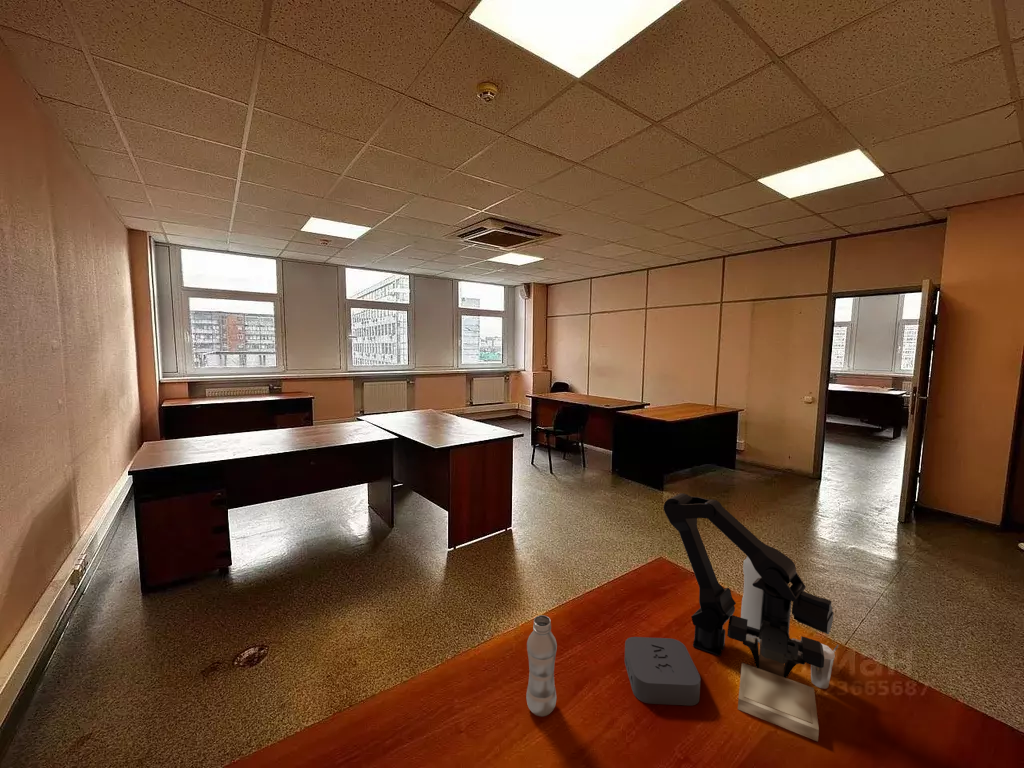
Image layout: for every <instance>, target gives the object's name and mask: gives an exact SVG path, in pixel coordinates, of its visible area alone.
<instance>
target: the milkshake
mask: <svg viewBox="0 0 1024 768" xmlns="http://www.w3.org/2000/svg"><path fill="white" fill-rule="evenodd" d="M820 643H821V642H820ZM821 644H822V646H823V652H824V667H823V668H819V667H816V666H813V665H810V680H811V684H813V686H815V687H817V688H820V689H825V690H826V689H828V688H829V685H830V681H831V675H832V670H833V666H834V661H835V657H836V655H835V652H836V651H837V650H838V648H839V644H838V643H837V644H836V646H835V647H834V648H833V650H832V648H830V647H829V645H826V644H824V643H821Z"/></svg>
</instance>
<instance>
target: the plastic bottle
mask: <svg viewBox="0 0 1024 768" xmlns="http://www.w3.org/2000/svg"><path fill="white" fill-rule="evenodd" d="M551 621H552V620H551V618H550V617H549V616H548V615H544V614H543V615H542V614H540V615H537V616H535V617H534V619H533V626H532V627H533V628H532V630H533V631H532V632H531V633H530V634H529V636H528V638H527V641H526V651H527V657H528V668H529V669H528V672H529V674H528V684H527V687H526V694H525V696H526V697H525V699H526V703H527V707H528V709H529V710H530V711H531V713H532V714H533V715H535V716H537V717H547V716H548V715H550V714H551V713H552V712H553V711H554V710H555V708H556V703H557V690H556V686H555V662H556V655H557V647H558V644H557V640H556V637H555V636H554V634H553V632H552V623H551Z"/></svg>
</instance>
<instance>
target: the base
mask: <svg viewBox="0 0 1024 768" xmlns="http://www.w3.org/2000/svg"><path fill="white" fill-rule="evenodd" d="M737 710H739V711H740V712H743V713H746V714H749V715H751V716H753V717H756V718H758V719H761V720H764V721H766V722H768V723H770V724H773V725H776V726H778V727H781V728H783V729H784V730H785V729H786V730H788V731H790V732H793V733H795V734H798V735H800V736H802V737H806V738H807V739H811V740H813V741H815V742H819V733H820V728H819V720H818V711H817V702H816V695H815V687H812V686H809V685H807V684H803V683H801V682H799V681H796V680H793V679H789V678H788V677H787V678H784V677H782V676H779V675H776V674H773V673H770V672H767V671H765V670H762V669H759V668H756V666H753V665H750V664H748V663H744V662H741V668H740V679H739V688H738V701H737Z"/></svg>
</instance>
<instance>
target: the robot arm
mask: <svg viewBox="0 0 1024 768" xmlns="http://www.w3.org/2000/svg"><path fill="white" fill-rule="evenodd" d="M663 512H664V514H665V516H666V517H667V520H668V521H669V524H671V526H672V527H673V528H674V529H675V530H676V531H677V532H678V533H679V535H680V539H681V541H682V544H683V547H684V549H685V553H686V555H687V557H688V560H689V562H690V566H691V569H692V571H693V573H694V577H695V579H696V581H697V584H698V589H699V592H698V593H699V595H698V603H699V606H700V607H699V608H698V609H697V610H696V611H695V612H694V614H692V615H691V622H692V624H693V626H694V639H693V643H692V647H693V648H695V649H699V650H701V651H704V652H707V653H710V654H711V655H712V654H713V655H716V656H719V657H720V656H722V651H723V650H725V641H726V635H727V637H728V638H729V639H732V640H734V641H738V642H741V643H742V644H743V646H746V647H748V649H749V650H750V653H751V655H752V658H753V660H754V664H755V667H756V668H759V650H760V647H759V642H758V639H760V640H761V654H762V656H763V657H765V658H767V659H772V660H775V661H778V662H779V663H782V664H784V663H785V665H784V678H787V679H788V677H789V675H790V673H791V671H792V670H793V668H794V667H795V666H797V665H806V664H808V665H810V666H811V665H813V666H816V667H819V668H823V667H824V652H823V646H822V644H823V643H822V644H821V642H820V641H818V640H816V639H812V638H810V637H806V636H804V635H803V636H802V635H801V637H800V639H796V638H791V636H790V626H791V625H790V624H791V623H790V621H791V614H792V615H793V620H795V621H796V622H797V623H800V624H802V625H805V626H806V627H809V628H811V629H813V630H816V631H819V632H821V633H824V634H826V635H829V634H830V633H831V629H832V627H833V626H832V625H833V620H834V613H835V612H834V611H833V606H832V600H830V599H828V598H824V597H819V596H818V595H817V596H816V595H814V594H811V593H809V592H806V591H805V590H806V588H807V587H806V585H805V583H804V582H803V580H802V578H801V577H800V576H799V574H798V572H797V568H796V564H795V562H794V561H793V559H791V558H790V557H788V556H787V555H785V553H783V552H781V551H780V550H778V549H777V548H774V547H773V546H771V545H768V544H766V543H764V542H762V541H761V540H760V539H759V537H757V536H756V535H754V534H753V532H751V531H750V529H748V528H747V527H746V526H744V525H743V524H742V523H741V522H740V521H739V520H738V519H737V518H736V517H735V516H734V515H732V514H731V513H730V512H729V511H728V510H727V509H726V508H725V507H723V505H722V503H721V502H720V501H719V500H716V499H710V498H709V499H708V498H703V497H701V496H690V495H689V494H687V493H683V492H682V493H679V494H678V493H677V494H675V495H674V496H672V497H670V498H668V499H667V500H666V501H664V505H663ZM698 519H707V520H708V521H710V523H712V525H714V526H715V527H716V528H717V529H718V530H719V531H720V532H721V533H722V535H725V537H727V539H729V540H730V541H731V542H732V543H733V544H734V545H735V546H736V547H737V548H738V549H739V550H740V551H742V553H743V554H744V555H746V558H747V557H748V558H749V559H750V561H751V563H752V565H753V567H754V569H755V570H756V571H757V573H758V574H759V575H760V576H761V578H758V579H757V580H756V581H755V582H754V583H753V584H752V585H753V586H754V587H756V588H759V589H761V590H762V604H761V618H760V630H759V629H756V628H753V627H749V626H747V623H748V620H747V619H744V618H741V616H737V615H734V613H735V611H736V608H735V607H736V604H737V602H736V601H735V600H734V598H733V596H732V591H731V589H730V587H726V588H724V587H723V586H722V585H721V584H720V583H719V581H718V579H717V576H716V574H715V571H714V568H713V566H712V563H711V560H710V557H709V554H708V552H707V550H706V547H705V544H704V542H703V540H702V536H701V534H700V531H699V529H698ZM790 583H791V585H790V586H789V584H790ZM727 622H728V624H727V634H726V629H725V628H724V626H725V624H726V623H727Z"/></svg>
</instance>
